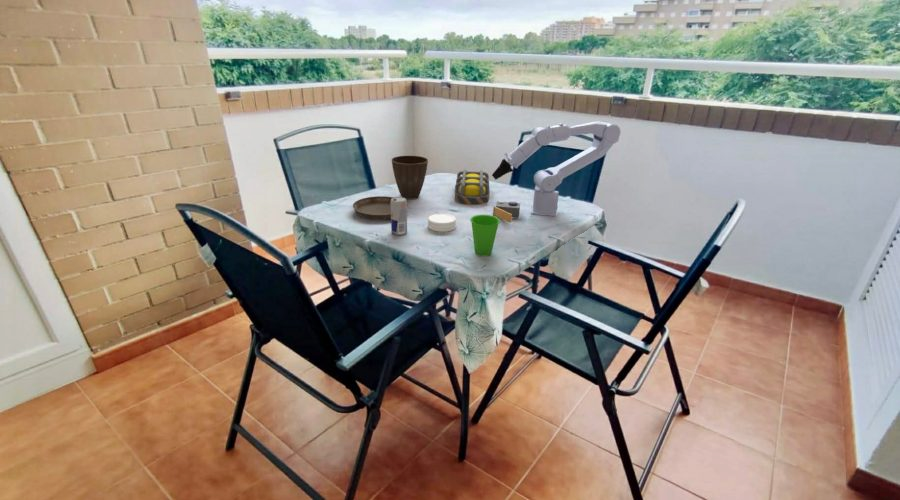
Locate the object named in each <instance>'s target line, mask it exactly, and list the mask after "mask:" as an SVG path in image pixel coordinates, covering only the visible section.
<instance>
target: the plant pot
mask: <svg viewBox="0 0 900 500" xmlns="http://www.w3.org/2000/svg"><path fill="white" fill-rule="evenodd" d="M428 163H429V159H428V158H426V157H424V156H418V155H400V156H394V157H392V158H391V165H392V166H391V167H392V170H393V171H392V172H393V176H394V179H395V183H396V187H397V188H398V192H399V195H400V197H404V198H406V200H416V199H418V198H419V197H420V194H421V192H422V190H423V186H424V183H425V178H426V175H427V169H428Z"/></svg>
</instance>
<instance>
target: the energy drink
mask: <svg viewBox="0 0 900 500" xmlns="http://www.w3.org/2000/svg"><path fill="white" fill-rule="evenodd" d="M390 204H391V219H390V225H391V227H390V228H391V233H392V235H395V236H404V235H406V234H407V233H408V203H407V199H406V198H404V197H401V196H395V197H394V198H392V199H391V202H390Z"/></svg>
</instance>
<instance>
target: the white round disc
mask: <svg viewBox="0 0 900 500" xmlns="http://www.w3.org/2000/svg"><path fill="white" fill-rule="evenodd" d="M456 227H457V219H456V217H455V216H454V215H452V214H448V213H435V214H432V215H430V216H428V218H427V228H428V229H429V230H430V231H434V232H437V233H439V232H440V233H445V232H451V231H454V230H455V229H456Z"/></svg>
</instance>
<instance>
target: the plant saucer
mask: <svg viewBox="0 0 900 500" xmlns="http://www.w3.org/2000/svg"><path fill="white" fill-rule="evenodd" d="M392 198H394V197H393V196H386V195H385V196H383V195H382V196H380V195H379V196H368V197H364V198H360V199H358V200H356V201H355V202H354V203H353V204H352V208H353V210H354V211H355V212H356V213H357V214H358V215H359V216H361V217H363V218H365V219H369V220H375V221H377V220H378V221H379V220H391V204H390V202H391V199H392Z"/></svg>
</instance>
